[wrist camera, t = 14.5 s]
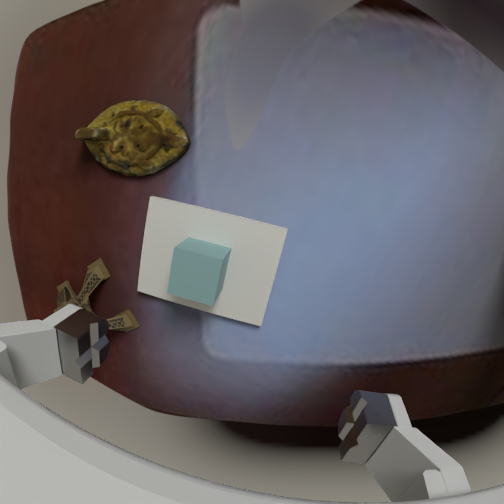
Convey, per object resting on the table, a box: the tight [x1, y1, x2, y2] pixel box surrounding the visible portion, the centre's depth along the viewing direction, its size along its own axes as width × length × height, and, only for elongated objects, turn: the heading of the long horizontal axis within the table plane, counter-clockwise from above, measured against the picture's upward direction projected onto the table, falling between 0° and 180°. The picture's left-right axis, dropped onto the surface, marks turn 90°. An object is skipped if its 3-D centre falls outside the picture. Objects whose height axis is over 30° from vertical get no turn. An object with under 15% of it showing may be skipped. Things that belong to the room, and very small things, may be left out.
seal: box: [75, 100, 191, 176], centre depth 31 cm, size 9×5×15 cm
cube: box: [167, 237, 231, 306], centre depth 32 cm, size 5×5×5 cm
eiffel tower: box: [53, 258, 140, 333], centre depth 27 cm, size 11×11×25 cm
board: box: [137, 196, 288, 326], centre depth 35 cm, size 16×12×1 cm
